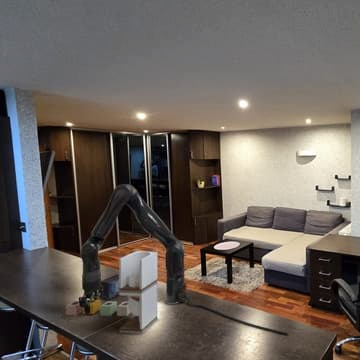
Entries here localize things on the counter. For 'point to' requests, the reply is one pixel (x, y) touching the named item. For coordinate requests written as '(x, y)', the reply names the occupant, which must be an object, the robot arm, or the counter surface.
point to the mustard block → (93, 306)
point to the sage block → (108, 308)
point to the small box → (110, 287)
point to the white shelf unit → (139, 289)
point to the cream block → (123, 309)
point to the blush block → (73, 308)
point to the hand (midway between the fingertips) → (92, 310)
